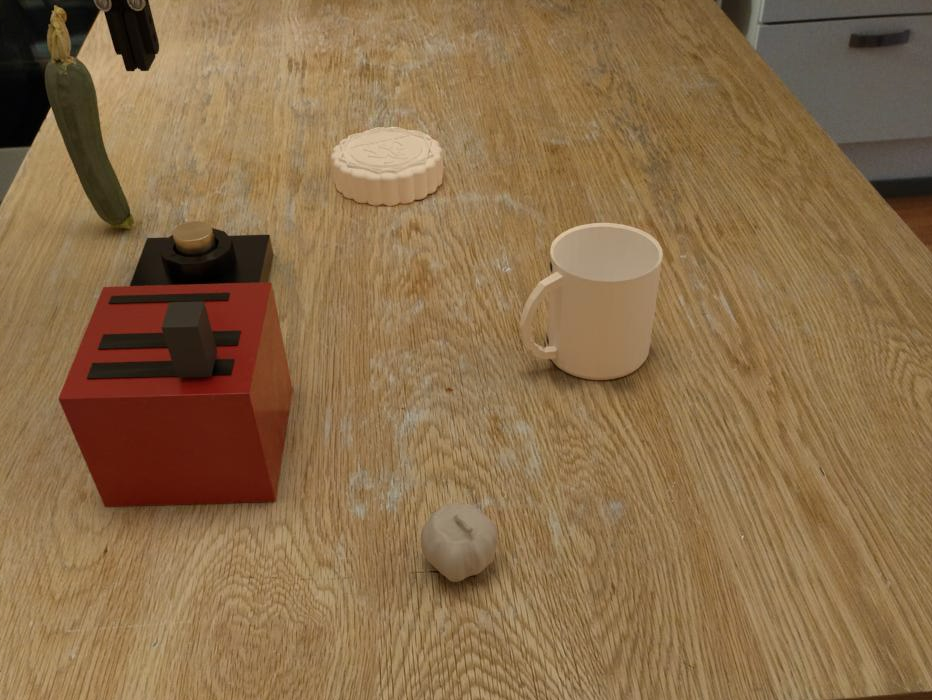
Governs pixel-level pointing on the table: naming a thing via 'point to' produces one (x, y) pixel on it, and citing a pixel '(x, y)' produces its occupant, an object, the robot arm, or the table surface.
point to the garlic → (459, 541)
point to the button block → (206, 262)
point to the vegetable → (82, 125)
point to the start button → (194, 239)
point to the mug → (597, 301)
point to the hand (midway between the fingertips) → (141, 63)
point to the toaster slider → (189, 339)
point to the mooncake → (387, 166)
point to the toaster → (181, 399)
